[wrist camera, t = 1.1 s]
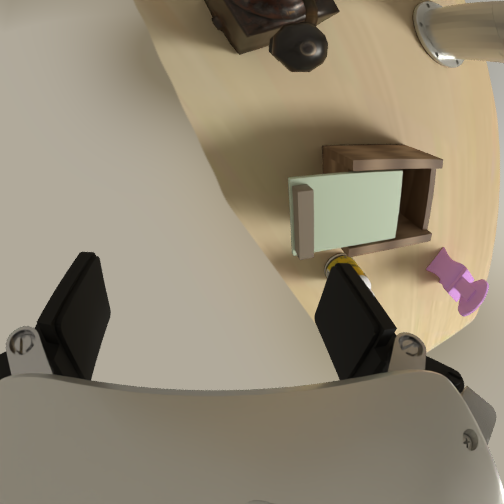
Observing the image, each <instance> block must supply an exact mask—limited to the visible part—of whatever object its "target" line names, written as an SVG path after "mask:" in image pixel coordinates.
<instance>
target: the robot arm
mask: <svg viewBox="0 0 504 504" xmlns="http://www.w3.org/2000/svg"><path fill="white" fill-rule="evenodd" d="M413 21H414V26H415V30H416V33H417V35H418V38H419V40H420V42H421V44H422V45H423V47H424V48H425V50H426V51H427V53H428V54H429V55H430V56H431V57H432V58H433V59H434V60H435V61H436V62H438V63H439V64H440V65H443V66H445V67H451V68H455V67H458V66H460V65H461V64H462V63H463V61H464V60H480V61H491V62H500V63H504V1H491V2H476V3H466V4H458V5H451V6H445V7H442V6H440V5H439V4H437V3H434V2H430V1H427V2H422V3H419V4H418V5H417V6H416V8H415V10H414V14H413ZM110 313H111V312H110V306H109V301H108V297H107V293H106V288H105V284H104V279H103V274H102V269H101V263H100V258H99V257H98V256H96V255H95V253H93V252H81V253H79V255H78V256H77V258H76V259H75V261H74V262H73V263H72V265H71V267H70V268H69V270H68V271H67V272H66V274H65V276H64V277H63V279H62V280H61V282H60V284H59V285H58V287H57V288H56V290H55V291H54V293H53V295H52V296H51V298H50V300H49V301H48V303H47V305H46V306H45V308H44V310H43V312H42V314H41V316H40V317H39V319H38V321H37V325H36V327H35V328H32V327H29V326H23V327H20V328H18V329H16V330H14V331H13V332H12V333H11V334H10V335H9V337H8V339H7V342H6V352H4V353H2V354H0V504H504V489H503V486H502V483H501V480H500V477H499V474H498V471H497V468H496V465H495V462H494V459H493V457H492V454H491V452H490V450H489V447H488V442H489V439H490V437H491V434H492V431H493V428H494V425H495V422H496V412H495V411H494V408H493V407H492V406H491V405H490V404H489V403H487V402H486V401H485V400H484V399H483V398H481V397H480V396H479V395H478V394H476V393H475V392H474V391H473V390H472V389H470V388H469V387H468V386H466V387H465V388H464V381H463V378H462V377H461V375H460V374H459V372H457V371H456V370H454V369H452V368H450V367H448V366H446V365H444V364H442V363H440V362H438V361H436V360H434V359H432V358H429V357H427V356H426V347H425V345H424V343H423V342H422V341H421V340H420V339H419V338H418V337H417V336H415V335H413V334H411V333H405V332H403V333H399V334H398V335H397V336H396V334H395V333H394V332H395V331H396V329H397V328H396V326H395V325H394V323H393V322H392V320H391V319H390V318H389V316H388V315H387V313H386V312H385V310H384V309H383V307H382V306H381V305H380V303H379V302H378V300H377V299H376V298H375V296H374V295H373V293H372V292H371V291H370V289H369V288H368V287H367V285H366V284H365V282H364V281H363V280H362V278H361V277H360V276H359V274H358V273H357V272H356V270H355V269H354V268H353V267H352V265H351V264H350V263H336V264H335V266H332V267H331V269H330V272H329V275H328V278H327V281H326V284H325V287H324V290H323V293H322V296H321V299H320V302H319V304H318V307H317V310H316V313H315V323H316V325H317V327H318V329H319V332H320V334H321V336H322V339H323V341H324V343H325V346H326V348H327V350H328V353H329V355H330V357H331V360H332V362H333V365H334V367H335V369H336V372H337V374H338V377H339V379H340V380H339V381H333V382H326V383H319V384H311V385H303V386H294V387H282V388H270V389H253V390H218V391H217V390H214V391H213V390H212V391H211V390H205V391H204V390H176V389H159V388H147V387H136V386H128V385H119V384H112V383H104V382H97V381H91V378H92V374H93V370H94V366H95V363H96V360H97V356H98V353H99V349H100V346H101V343H102V340H103V337H104V334H105V330H106V327H107V324H108V322H109V319H110Z"/></svg>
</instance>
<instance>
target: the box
mask: <svg viewBox="0 0 504 504" xmlns="http://www.w3.org/2000/svg"><path fill="white" fill-rule="evenodd" d="M322 154H323V174H328V173H340V172H354V171H371V170H393V169H400V170H402V171H403V175H402V187H401V197H400V206H399V214H398V222H397V229H396V235H395V238H392V239H387V240H381V241H376V242H370V243H364V244H359V245H353V246H347V247H342V248H341V249H342V250H343V251H344V252H345V254H346V255H347V256H348V257H353V256H358V255H363V254H369V253H374V252H379V251H384V250H389V249H394V248H399V247H404V246H409V245H413V244H418V243H423V242H428V241H430V240H431V236H432V233H431V232H429V231H428V230H427V228H428V223H429V217H430V212H431V205H432V199H433V192H434V184H435V175H436V168H442V166H443V159H440V158H438V157H435V156H433V155H430V154H428V153H425V152H423V151H420V150H417V149H414V148H412V147H409V146H406V145H394V144H358V145H329V146H322Z"/></svg>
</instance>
